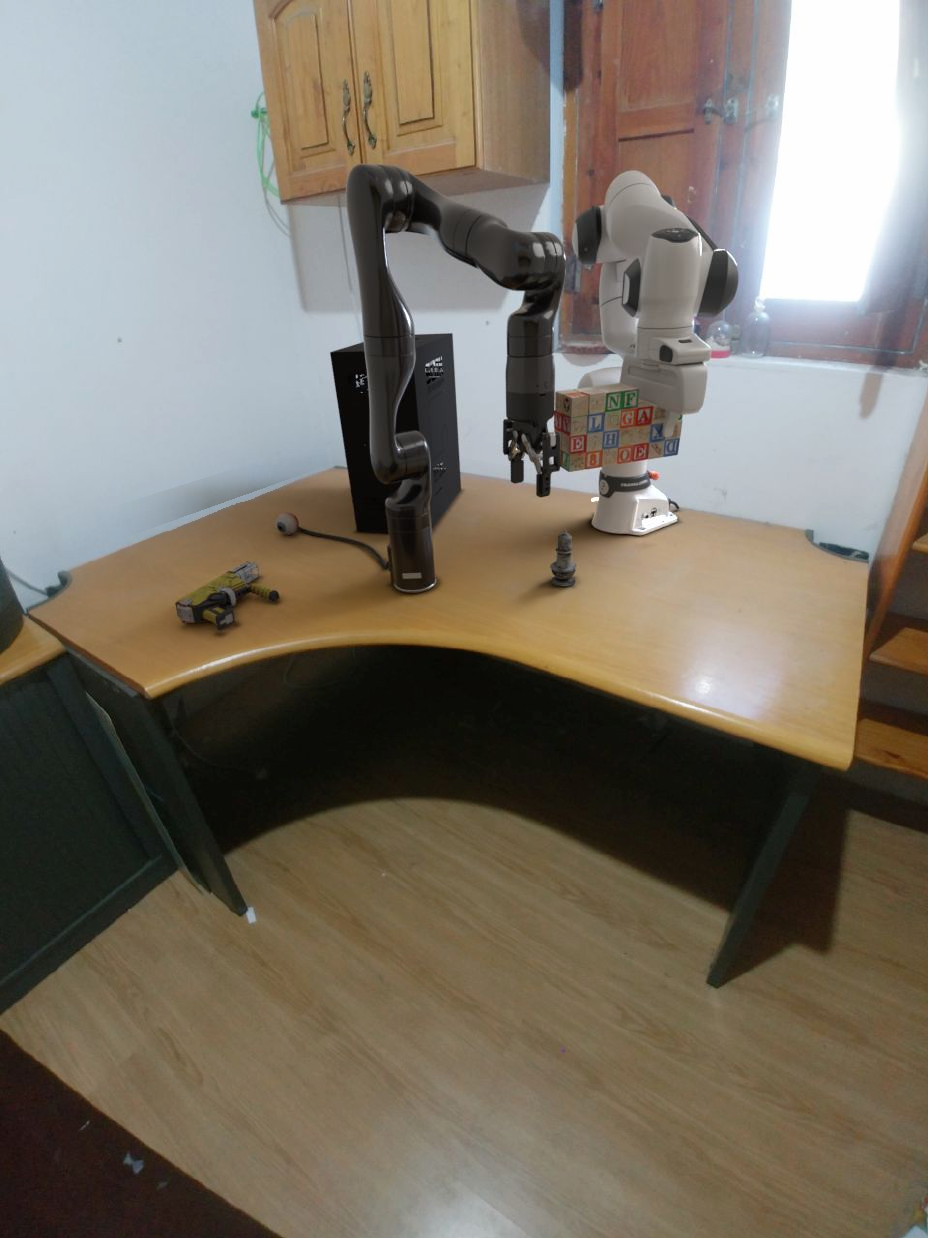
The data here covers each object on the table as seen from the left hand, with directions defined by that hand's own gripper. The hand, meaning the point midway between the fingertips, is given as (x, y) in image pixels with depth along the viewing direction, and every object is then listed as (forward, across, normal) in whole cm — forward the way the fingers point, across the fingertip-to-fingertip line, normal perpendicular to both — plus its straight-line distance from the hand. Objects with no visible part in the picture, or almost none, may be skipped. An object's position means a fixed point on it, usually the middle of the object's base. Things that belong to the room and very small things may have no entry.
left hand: (529, 489), depth 100 cm
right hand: (-6, 0, +25) cm, 26 cm away
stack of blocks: (-2, -1, +18) cm, 18 cm away
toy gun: (+28, -41, -48) cm, 69 cm away
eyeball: (+28, -77, -31) cm, 87 cm away
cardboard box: (+28, -77, +5) cm, 82 cm away
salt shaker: (+28, -15, +17) cm, 36 cm away
